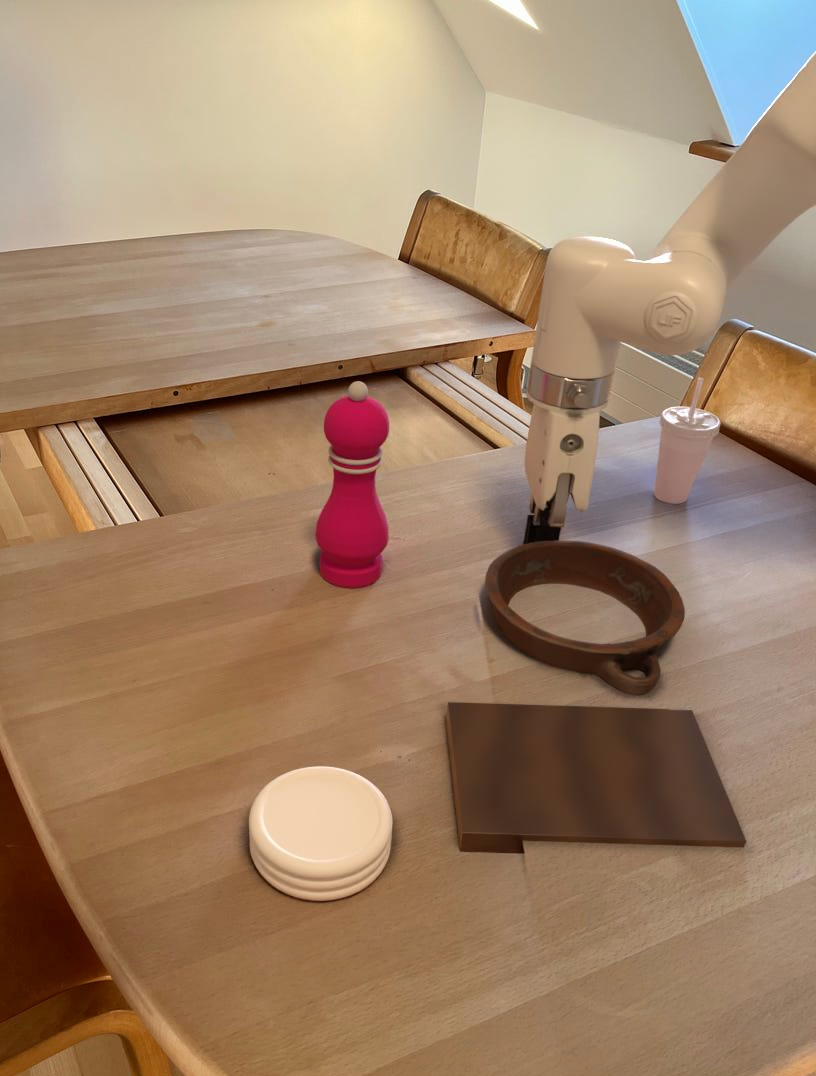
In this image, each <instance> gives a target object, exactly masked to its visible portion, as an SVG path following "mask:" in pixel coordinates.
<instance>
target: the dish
mask: <svg viewBox="0 0 816 1076" xmlns="http://www.w3.org/2000/svg"><path fill="white" fill-rule="evenodd" d="M484 579H485V580H484V587H485V591H486V594H487V597H488V598H489V599H490V600H489V601H491V605H492V610H493V614H494V618H495V620H496V623H497V626H498V628H499V629H500V631H501V632H502V634H503V635H504V636H505V637H506V639H508V641H509V642H510V643H512V645H514V646H515V647H516V648H517V649H519V650H520V651H522V652H523V653H525V654H527V655H528V656H530V657H532V658H534V659H536V660H538V661H540V662H542V663H545V664H547V665H549V666H552V667H555V668H560V669H563V670H567V671H572V672H577V673H584V674H592V675H596V676H598V677H600V678H601V679H602V680H603V681H604V682H606V683H607V684H608V685H610V686H611V687H613V688H615V689H617V690H618V691H620V692H622V693H624V694H626V695H631V696H644V695H647V694H648V693H650V692H652V690H653V689H654V688H655V687H656V685H657V683H658V681H659V680H660V677H661V667H660V662H659V659H658V650H659V649H660V648H661V646H662V645H663V644H664V643H666V642H667V641H669V640H671V639H672V638H673V637H674V636H676V634H678V633H679V630H681V628H682V625H683V623H684V620H685V615H686V609H685V605H684V601H683V597H681V593H680V591H678V589H677V588H676V586H675V585H674V584H673V582H672V581H671V580H670V579H669V577H668V576H667V575H665V573H663V572H662V571H661V570H660V569H658V568H657V567H656V566H654V565H653V564H651V563H649V562H648V561H645V560H644V559H641V558H639V557H638V556H636V555H633V554H631V553H629V552H627V551H624V550H621V549H618V548H615V547H611V546H608V545H604V544H599V543H595V542H590V541H582V540H569V539H568V540H559V541H558V540H555V541H539V542H533V543H528V544H524V545H523V544H520V545H517V546H515V547H512V548H510V549H509V550H507V551H505V552H503V553H502V554H500V555H498V556H497V557H496V558H495V559H493V560H492V562H491V563H490V564H489V565H488V568H487V571H486V573H485V578H484ZM541 585H568V586H577V587H581V588H586V589H590V590H594V591H597V592H600V593H602V594H605V595H607V596H610V597H611V598H613V599H615V600H616V601H618V602H620V603H621V604H622V605H624V606H625V607H627V608H628V609H630V610H631V611H632V612H633V613H634V614H635V615H636V616H637V617H638V618H639V620H640V621H641V622H642V625H643V627H644V630H645V636H643V637H640V638H638V639H634V640H628V641H622V642H616V643H598V642H597V643H595V642H587V641H581V640H576V639H570V638H566V637H563V636H559V635H555V634H553V633H551V632H548V631H546V630H544V629H542V628H539V627H538V626H536V625H534V624H532V623H531V622H529V621H527V620H525V618H523V617H521V616H520V615H519V614H517V612H516V611H514V610H513V609H512V608H511V607H510V606H509V605H510V602H511V600H512V598H514V596H516V594H517V593H519V592H521V591H523V590H525V589H528V588H531V587H535V586H541ZM632 669H633V670H635V669H636V670H638V671H641V672H643V673H644V674H645V675H646V676H645V677H638V676H633V675H630V674H628V673H626V671H628V670H632Z"/></svg>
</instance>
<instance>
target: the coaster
mask: <svg viewBox="0 0 816 1076" xmlns="http://www.w3.org/2000/svg"><path fill="white" fill-rule="evenodd" d="M393 825H394V821H393V814H392V811H391V807H390V805H389V802H388V800H387V798H386V797H385V796H384V794H383V792H381V790H380V789H379V788H378V787H377V786H375V784H373V783H372V782H371V781H370V780H368V779H367V778H365V777H363V776H361V775H360V774H357V773H355V772H353V771H351V770H347V769H344V768H340V767H333V766H323V765H322V766H320V765H318V766H307V767H301V768H298V769H293V770H291V771H288V772H285V773H283V774H281V775H279V776H277V777H275V778H274V779H273V780H271V781H270V782H269V783H267V784H266V785H265V786H263V788H262V789H261V790H260V791H259V793H258V794H257V795H256V797H255V799H254V800H253V803H252V805H251V807H250V811H249V815H248V831H249V832H248V836H249V837H248V838H249V852H250V856H251V859H252V861H253V864H254V866H255V868H256V869H257V871H258V872H259V873H260V875H261V876H262V877H263V878H264V880H265V881H267V882H268V884H269V885H271V886H273V887H274V888H275V889H277V890H278V891H280V892H281V893H284V894H286V895H288V896H292V897H293V898H297V899H302V900H307V901H318V902H322V901H323V902H324V901H325V902H326V901H334V900H340V899H344V898H346V897H350V896H352V895H355V894H357V893H359V892H360V891H362V890H364V889H366V888H367V887H369V886H370V885H371V884H372V883H374V881H375V880H376V879H377V878H378V877H379V876H380V874H382V872H383V870H384V869H385V867H386V865H387V863H388V860H389V857H390V854H391V847H392V837H393V833H392V832H393Z"/></svg>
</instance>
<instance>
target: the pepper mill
mask: <svg viewBox="0 0 816 1076" xmlns="http://www.w3.org/2000/svg"><path fill="white" fill-rule="evenodd" d="M347 394H348V395H345V396H342V397H341V398H338V399H336V400H335V401H334V402H333V403H332V404H331V405H330V406H329V408H328V409H327V411H326V413H325V416H324V420H323V421H324V422H323V432H324V436H325V439H326V440H327V442H328V443H329V444H330V446H329V447H328V454H329V455H328V458H327V459H328V464H329V465H330V466H331V468H332V472H333V480H332V488H331V491H330V495H329V497H328V499H327V501H326V503H325V504H324V506H323V507H322V509H321V512H320V514H319V516H318V519H317V521H316V527H315V535H314V536H315V542H316V544H317V546H318V548H319V549H320V550H321V552H320V555H319V573H320V575H321V576H322V577H323V579H324V580H325V581H327V582H328V583H330V584H332V585H334V586H337V587H340V588H342V587H343V588H347V589H348V588H349V589H356V588H363V587H367V586H370V585H372V584H374V583H375V582H376V581H378V580H379V579H380V577H381V575H382V570H383V555H382V553H383V552H384V551H385V549H386V548H387V546H388V544H389V539H390V536H389V535H390V531H389V523H388V520H387V516H386V513H385V510H384V508H383V506H382V504H381V501H380V499H379V496H378V493H377V489H376V488H377V487H376V475H377V470H378V469H379V468H380V467H381V466H382V464H383V459H382V456H383V454H384V453H383V449H382V446H383V445H384V443H385V442H386V441H387V439H388V436H389V433H390V419H389V414H388V412H387V409H386V408H385V407H384V406H383V405H382V403H380V402H379V401H378V400H376V399H375V398H373V397H370V396H369V395H368V394H369V389H368V387H367V385H366V384H365V383H364V382H362V381H360V380H359V381H358V380H357V381H354V382H352V383H351V384H350V385H349V386H348V391H347Z"/></svg>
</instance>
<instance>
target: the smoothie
mask: <svg viewBox="0 0 816 1076" xmlns="http://www.w3.org/2000/svg"><path fill="white" fill-rule="evenodd" d="M703 382H704V378H703V377H698V378H697V380H696V386H695V389H694V393H693V397H692V400H691V404H690V406H673V407H669V408H666V409H664V410H663V411H662V412H661V414H660V415H661V416H660V418H659V426H660V427H661V429H660V435H659V446H658V454H657V462H656V463H657V464H656V470H655V471H656V472H655V480H654V481H655V482H654V488H653V489H654V491H653V496H654V497H655V498H656V499H657V500H659V501H661V502H663V503H666V504H672V505H678V504H679V505H680V504H683V503H685V502H687V500H688V498H689V495H690V493H691V490H692V488H693V485H694V483H695V481H696V478H697V476H698V475H699V471H700V469H701V467H702V465H703V462H704V460H705V458H706V457H707V456H706V455H707V454H708V451H709V449H710V446H711V445H712V442H713V439H714V437H716V436H717V435H718V434H719V433H720V427H721V424H722V423H721V420H720V419H719V417H717V416H716V415H715V414H714V413H711V412H710V411H707V410H704V409H701V408H697V404H698V401H699V398H700V394H701V390H702V386H703V384H704V383H703Z"/></svg>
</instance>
